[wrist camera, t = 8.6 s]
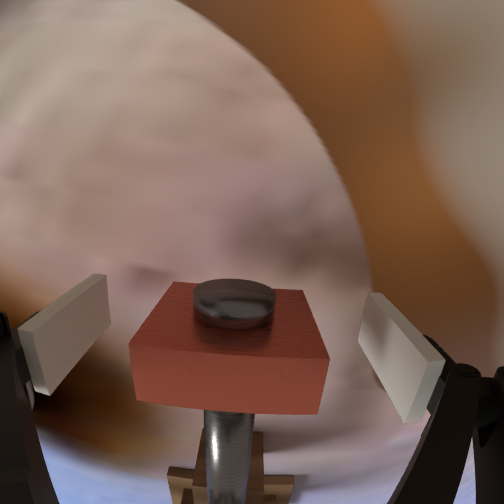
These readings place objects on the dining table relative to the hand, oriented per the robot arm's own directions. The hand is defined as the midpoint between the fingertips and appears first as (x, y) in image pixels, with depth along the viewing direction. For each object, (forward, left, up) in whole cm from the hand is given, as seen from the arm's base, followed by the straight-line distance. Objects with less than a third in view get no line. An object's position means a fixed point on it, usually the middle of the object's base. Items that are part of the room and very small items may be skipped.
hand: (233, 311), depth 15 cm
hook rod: (+8, 0, -1) cm, 8 cm away
